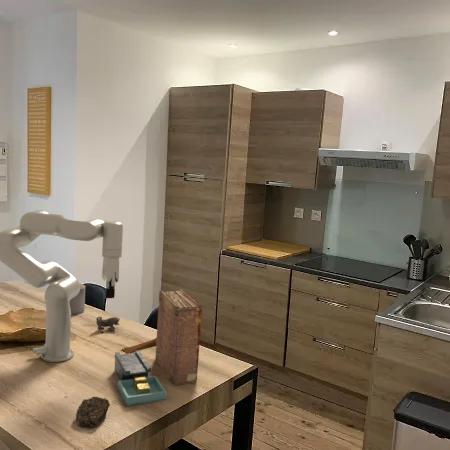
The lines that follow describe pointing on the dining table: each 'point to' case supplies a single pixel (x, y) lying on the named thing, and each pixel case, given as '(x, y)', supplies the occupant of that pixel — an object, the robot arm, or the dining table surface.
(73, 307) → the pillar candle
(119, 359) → the grey block holder
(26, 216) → the robot arm
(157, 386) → the tray
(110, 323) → the dog figurine
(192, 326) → the book
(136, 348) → the primitive tool
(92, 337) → the dining table surface
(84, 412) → the dark brown rock
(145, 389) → the tan wooden cube
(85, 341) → the dining table surface
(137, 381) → the tan wooden block
